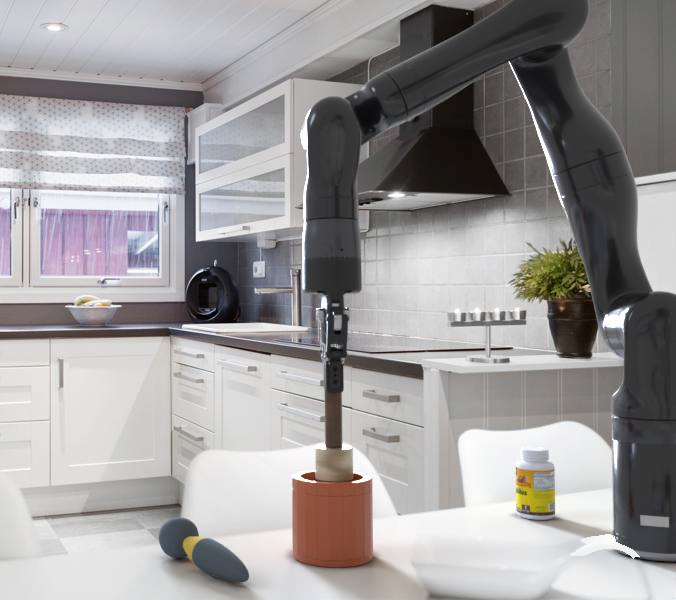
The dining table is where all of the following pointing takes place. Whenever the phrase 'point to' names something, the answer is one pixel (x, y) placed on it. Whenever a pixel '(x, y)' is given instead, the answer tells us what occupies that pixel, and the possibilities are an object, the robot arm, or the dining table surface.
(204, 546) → the paintbrush
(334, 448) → the brown rod with cap
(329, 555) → the jar
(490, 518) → the dining table surface
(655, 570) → the dining table surface
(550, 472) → the supplement bottle
